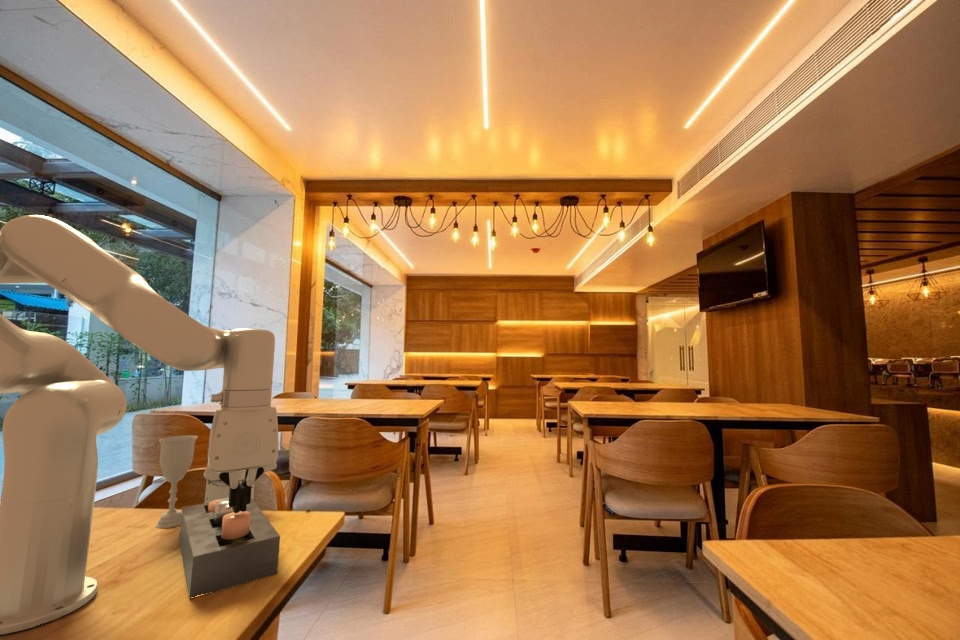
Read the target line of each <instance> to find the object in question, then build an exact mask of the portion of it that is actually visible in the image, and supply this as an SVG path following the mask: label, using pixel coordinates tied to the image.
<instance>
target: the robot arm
mask: <svg viewBox="0 0 960 640" xmlns="http://www.w3.org/2000/svg"><path fill="white" fill-rule="evenodd" d="M0 284H1V285H2V284H3V285H5V284H47V285H48V286H50V287H51V288H53V289H55V290H57V292H58V293H61V294H63V295H64V296H65V297H67V298H68V299H70V300H72V301H73V302H75V303H76V304H77V305H79V306H80V307H82V308H84V309H85V310H87V311H89V312H90V313H91V314H92V315H94V316H95V317H96V318H97V319H98V320H99V321H101V322H102V323H104V324H105V325H107V326H108V327H110V329H112V330H113V331H114V332H116V333H117V334H118V335H120V337H123V338H124V339H125V340H126V341H128V342H130V343H131V344H133V345H134V346H136V347H137V348H138V349H140V350H142V351H144V352H145V353H147V354H149V356H152V357H153V358H155V359H156V360H157V361H160V362H161V363H163V364H165V365H166V366H169V367H170V368H173V369H175V370H178V371H184V372H191V371H192V372H193V371H194V372H196V371H206V370H207V371H209V370H214V369H223V377H222V379H223V380H222V389H221V390H220V392H219V393H218V392H217V393H212V394H211V396H210V402H211V403H216V404H219V406H220V408H219V407H218V408H216V409H215V411H214V415H213V419H212V423H211V428H210V432H209V439H208V445H207V454H206V464H207V465H206V467H205V470H204V472H203V477H204V479H205V480H207V479H214V480H222V481H223V482H224V483H226V484H227V485H228V486H229V487H230V491H229V508H230V507H232V509H233V511H234V513H239V512H240V511H242V512H245V511H246V506H247V504H250V501H251V487H252V485H253V484H254V482H255V483H256V481H257V480H259V478H260V477H261V476H262V475H263V474H264V473H265V474H266V473H268V472H271V471H273V470H276V469H277V467H278V464H277V460H278V457H279V422H278V419H279V418H278V412H277V407H276V406H274V405H272V393H273V378H274V377H273V375H274V361H275V350H276V349H275V345H276V338H275V334H274V333H273V331H271V330H267V329H261V328H247V327H246V328H234V329H232V330H224V329H217V328H212V327H209V326H208V325H204V324H203V323H201V322H199V321H198V320H196V319H194V318H193V317H191V316H190V315H189V314H187V313H186V312H184V311H183V310H181V309H180V308H178V307H177V306H175V305H174V304H173V303H170V301H168V300H167V299H166V298H164V297H163V296H161V295H160V294H158V292H156V291H155V290H154V289H153V288H152V287H151V286H150V284H149V283H148V282H147V279H145V277H143V276H142V275H141V274H140V273H138V272H137V271H136V270H134V269H133V268H131V267H130V266H128V265H127V264H125V263H124V262H122V261H121V260H119V259H117V258H116V257H114V256H113V255H112V254H110V253H109V252H107V251H106V250H105V249H103V248H101V247H100V246H99V245H98V244H97V243H96V242H95V241H94V240H93V239H92V238H90V237H89V236H87V235H86V234H84V233H82V232H81V231H79V230H77V229H76V228H73V227H72V226H70V225H68V224H67V223H65V222H63V221H61V220H59V219H56V218H52V217H50V216H45V215H41V214H40V215H39V214H29V215H21V216H18V217H15V218H12V219H11V220H9V221H7V222H6V223H5V224H4V225H3V226H2V227H1V228H0ZM13 393H15V394H16V393H19V394H20V395H21V396H20V397H18V398H17V399H16V400H15V401H14V402H13V403H12V404H11V405H10V407H9V409H8V410H7V411H6V413H5V416H4V419H3V423H2V444H3V453H4V455H3V457H4V466H3V467H4V470H3V478H2V488H1V492H0V493H1V494H0V635H7V634H12V633H16V632H20V631H21V632H22V631H25V630H27V629H31V628H32V629H33V628H35V627H38V626H41V625H44V624H47V623H50V622H53V621H55V620H57V619H60V618H62V617H64V616H66V615H69V614H70V613H72V612H74V611H76V610H78V609H80V608H81V607H82V606H84V605H86V604H87V603H89V602H90V600H92V599H93V598H94V597H95V596H96V594H97V592H98V586H99V583H98V581H97V579H95V578H93V577H90V576H86V573H87V571H86V570H87V563H88V555H89V547H90V541H91V533H92V532H91V531H92V524H93V523H92V522H93V515H94V507H95V498H96V491H97V481H98V480H97V479H98V468H99V458H98V448H97V447H98V446H97V437H98V436H99V435H102V434H105V433H107V432H108V431H110V430H113V428H115V427H116V426H117V425H118V424H120V422H122V420H123V418H124V416H125V414H126V411H127V405H128V404H127V399H126V396H125V394H124V392H123V391H122V389H121V388H120V387H119V385H117V383H115V382H114V381H113V380H112V379H111V378H109V376H107V375H106V374H105V373H104V372H103V371H102V370H100V368H98V367H97V366H96V365H95V364H94V363H93V362H92V361H90V360H89V359H88V358H87V357H86V355H84V354H83V353H82V352H81V351H79V349H77V348H76V347H74V346H73V345H72V344H70V343H69V342H67V341H65V340H64V339H62V338H61V337H58V336H55V335H52V334H49V333H46V332H39V331H31V330H27V329H23V328H21V327H19V326H18V325H16V324H14V323H13V322H11V321H10V319H8V318H7V317H5V316H4V315H3V314H2V313H0V394H1V395H3V394H4V395H5V394H13ZM245 469H246V471H245V475H244V479H243V480H242V483H241V484H240V483H239V482H238V474H237V471H238V470H245ZM49 621H50V622H49ZM43 623H44V624H43ZM40 624H41V625H40ZM37 625H38V626H37Z"/></svg>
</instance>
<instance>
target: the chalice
mask: <svg viewBox="0 0 960 640" xmlns="http://www.w3.org/2000/svg"><path fill="white" fill-rule="evenodd" d="M198 437H199V436H198V435H187V434H186V435H176V436H175V435H174V436H168V437H163V438H160V439H158V441H159V443H160V453H159V461H158V462H159V467H160V469H161V473H162V474H163V477H164V478H165V480H166V482H168V483H170V484H171V486H170V489H169V491H168V493H169V494H170V497H169V499H167V502H168V504H169V506H168V509H167V510H166V511H164V512H163V513H162V514H161V515H160V516H159V517H160V518H159V519H158V520H157V523H156V524H155V528H156V529H166V528H167V529H168V528H173V527H176V526H177V527H178V526H180V522H181V512H182V511H181V510H178V509H176V506H175V504H176V502H177V501H178V498H177V492H178V491H179V490H178V486H177V485H178V482H179V481H181V480H183V479H184V477H185V476H186V474H187V473H188V471H189V468H190V467H191V465H192V463H193V460H194V453H195V445H196V441H197V439H198Z"/></svg>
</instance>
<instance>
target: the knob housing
mask: <svg viewBox="0 0 960 640" xmlns="http://www.w3.org/2000/svg"><path fill="white" fill-rule="evenodd" d="M208 505H209V503H199V504H193V505H187V506H182V507H181V511H180V512H181V522H180V525H179V532H178V533H179V534H178V542H179V546H180V555H181V559H182V564H183V570H184V577H185V582H186V587H187V594H189V595H188V599H189V598H191V597H195V596H197V595H201V594H206V593H210V592H213V593H216V591H217V592H220V591H224V590H227V589H230V588H229V587H231V588H233V587H232V586H234V587H236V585H237V586H240V584H241V585H244V584H247V582H248V583H250V582H249V581H251V582H254V581H253V580H255V581H257V580H256V579H258V580H261V579H260V578H262V579H264V578H263V577H265V578H268V577H272V576H275V575H278V569H279V558H280V556H279V555H280V542H281V535H280V534H279V533H278V531H277V530H276V528H275V527H274V526H273V524H271V522H270V521H269V519H268V517H266V515H265V514H264V513H263V512H262V509H261V508H260V507H259V506H258V504H257V503H256V502H255V501H254V498H253V499H252V498H251V501H250V504H247V506H246V511H248V512H250V513H251V514H250V527H249V533H248V534H247V535H246V536H247V537H248V538H249V539H246V540H243V541H238V542H233V543H230V544H225V545H220V544H219V542H221V541H227V540H228V539H223V538H221V533H222V522H216V521H214V517H215V512H210V513H208ZM271 575H272V576H271ZM267 576H268V577H267ZM226 588H227V589H226ZM223 589H224V590H223ZM210 594H211V593H210Z"/></svg>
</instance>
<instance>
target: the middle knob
mask: <svg viewBox="0 0 960 640" xmlns="http://www.w3.org/2000/svg"><path fill="white" fill-rule="evenodd" d="M232 512H234V511H233V509H232V507H230V508H229V498H224V499H220V500H218V501H216V505H215V517H214V521H216V522H222V521H223V516H224V515H226V514H229V513H232Z"/></svg>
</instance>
